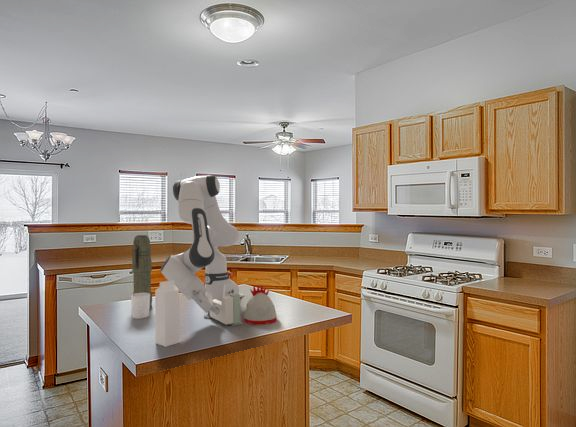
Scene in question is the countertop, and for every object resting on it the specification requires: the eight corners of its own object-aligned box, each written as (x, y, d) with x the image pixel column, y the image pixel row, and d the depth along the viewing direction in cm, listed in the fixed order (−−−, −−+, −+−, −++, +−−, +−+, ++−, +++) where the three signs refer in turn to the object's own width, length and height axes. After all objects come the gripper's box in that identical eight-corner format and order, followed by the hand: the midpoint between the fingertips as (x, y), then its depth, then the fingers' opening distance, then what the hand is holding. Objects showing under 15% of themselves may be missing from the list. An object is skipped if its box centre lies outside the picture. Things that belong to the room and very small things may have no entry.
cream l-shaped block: (209, 316, 177) (208, 292, 177) (216, 315, 179) (216, 291, 179) (225, 324, 164) (225, 298, 164) (233, 323, 166) (233, 297, 166)
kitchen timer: (240, 317, 178) (240, 283, 178) (270, 314, 183) (270, 281, 183) (248, 326, 165) (248, 289, 165) (280, 322, 170) (280, 286, 170)
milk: (179, 342, 145) (179, 281, 145) (165, 347, 141) (164, 283, 140) (169, 339, 149) (169, 279, 149) (155, 343, 144) (154, 281, 144)
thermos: (127, 310, 193) (126, 236, 192) (140, 304, 204) (139, 234, 204) (144, 310, 191) (143, 236, 191) (156, 305, 203) (156, 234, 202)
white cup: (130, 319, 176) (130, 296, 176) (132, 315, 183) (132, 293, 183) (149, 318, 178) (149, 295, 178) (150, 314, 186) (150, 292, 185)
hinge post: (211, 314, 184) (211, 296, 184) (220, 316, 180) (220, 298, 180) (201, 317, 179) (200, 299, 179) (210, 319, 175) (209, 301, 175)
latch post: (227, 323, 169) (226, 294, 169) (237, 321, 172) (237, 293, 172) (232, 326, 165) (232, 296, 165) (243, 324, 168) (243, 295, 168)
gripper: (198, 288, 155) (224, 312, 157) (200, 279, 175) (223, 301, 177) (186, 300, 154) (213, 324, 156) (189, 290, 174) (212, 312, 176)
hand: (218, 312), depth 166 cm, fingers closed
